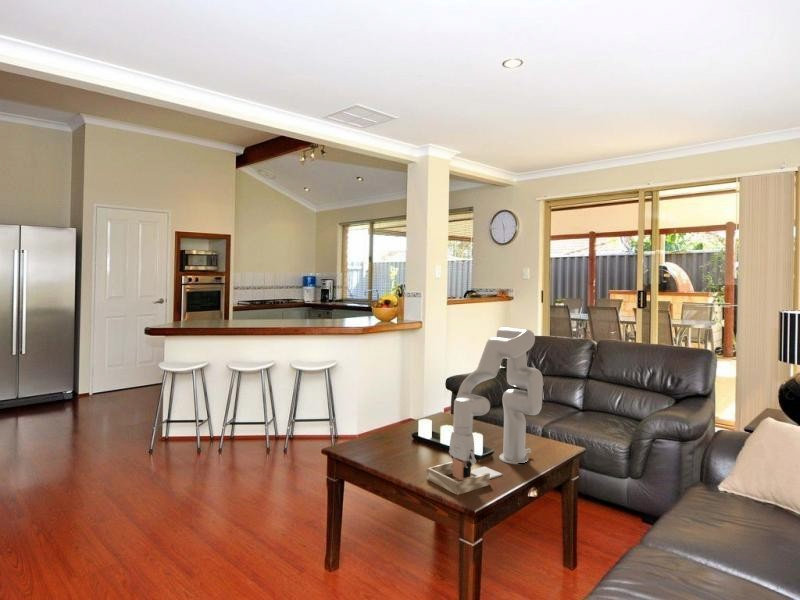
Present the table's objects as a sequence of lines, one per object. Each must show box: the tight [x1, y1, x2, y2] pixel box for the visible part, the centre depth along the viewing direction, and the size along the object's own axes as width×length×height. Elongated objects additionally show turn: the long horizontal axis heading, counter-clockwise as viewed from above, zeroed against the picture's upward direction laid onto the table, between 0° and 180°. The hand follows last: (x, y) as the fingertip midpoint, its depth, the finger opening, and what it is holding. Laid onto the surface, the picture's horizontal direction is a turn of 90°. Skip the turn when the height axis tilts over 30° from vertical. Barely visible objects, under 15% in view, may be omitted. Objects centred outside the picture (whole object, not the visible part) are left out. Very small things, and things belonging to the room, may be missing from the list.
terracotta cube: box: [452, 458, 472, 481], centre depth 207 cm, size 5×5×7 cm
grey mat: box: [471, 466, 503, 480], centre depth 215 cm, size 10×10×1 cm
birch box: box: [426, 460, 491, 496], centre depth 206 cm, size 17×18×4 cm
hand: (461, 474), depth 207 cm, fingers closed on terracotta cube, 5 cm apart
